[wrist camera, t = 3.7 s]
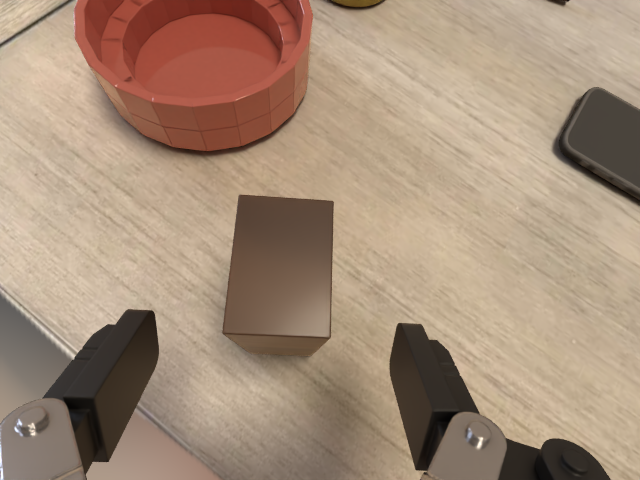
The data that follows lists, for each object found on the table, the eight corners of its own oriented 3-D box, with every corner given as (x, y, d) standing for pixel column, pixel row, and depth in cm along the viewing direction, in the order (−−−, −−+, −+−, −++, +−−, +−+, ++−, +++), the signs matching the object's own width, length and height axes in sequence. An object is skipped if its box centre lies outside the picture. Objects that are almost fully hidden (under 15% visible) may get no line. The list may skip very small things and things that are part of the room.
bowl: (159, 189, 24) (129, 144, 20) (81, 39, 28) (40, -29, 23) (343, 107, 28) (354, 52, 23) (253, -18, 32) (247, -86, 27)
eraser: (311, 356, 22) (330, 338, 12) (249, 353, 21) (221, 334, 12) (314, 271, 23) (333, 200, 14) (257, 268, 23) (238, 194, 14)
